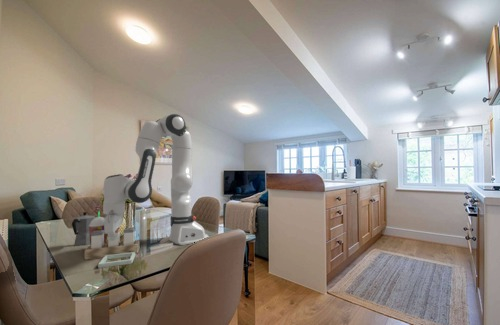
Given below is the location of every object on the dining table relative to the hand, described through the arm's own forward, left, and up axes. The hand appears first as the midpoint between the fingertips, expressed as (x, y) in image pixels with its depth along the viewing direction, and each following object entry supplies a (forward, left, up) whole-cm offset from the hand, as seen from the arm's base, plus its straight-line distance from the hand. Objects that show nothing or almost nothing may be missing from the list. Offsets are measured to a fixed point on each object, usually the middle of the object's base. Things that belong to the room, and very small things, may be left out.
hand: (114, 238), depth 107 cm
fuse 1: (+7, 0, -7) cm, 10 cm away
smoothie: (+9, -11, -9) cm, 17 cm away
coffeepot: (+20, -25, -9) cm, 33 cm away
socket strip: (0, 0, -9) cm, 9 cm away
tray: (-4, +11, -9) cm, 14 cm away
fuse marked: (0, 0, -7) cm, 7 cm away
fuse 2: (-6, 0, -7) cm, 9 cm away
